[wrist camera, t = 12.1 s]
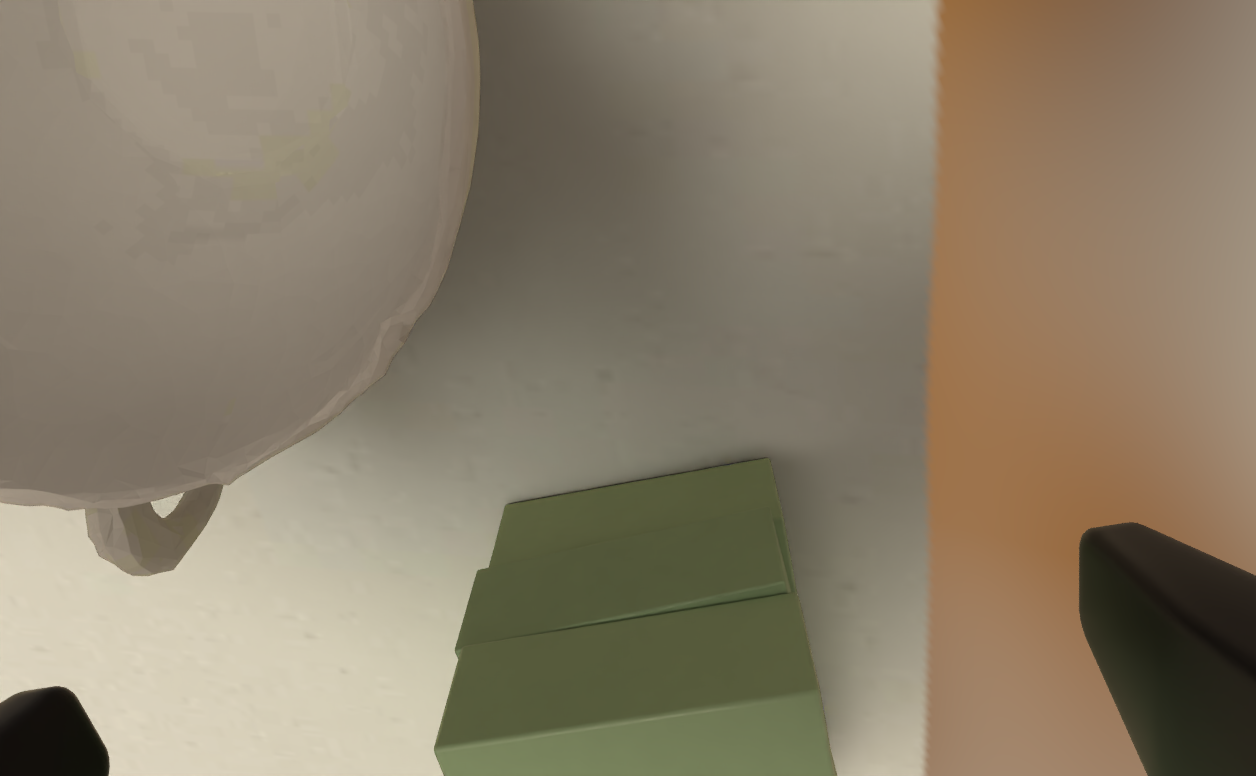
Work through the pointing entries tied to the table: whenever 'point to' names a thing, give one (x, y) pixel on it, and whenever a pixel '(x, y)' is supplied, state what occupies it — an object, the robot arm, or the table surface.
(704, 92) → the table surface
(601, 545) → the green pile
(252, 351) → the teacup
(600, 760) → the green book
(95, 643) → the table surface
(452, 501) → the table surface
